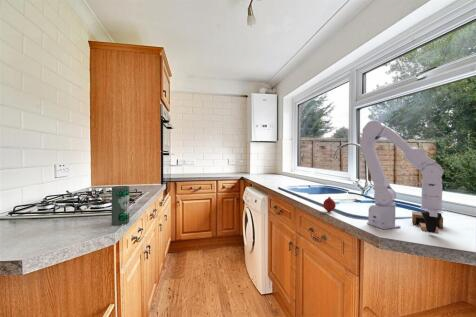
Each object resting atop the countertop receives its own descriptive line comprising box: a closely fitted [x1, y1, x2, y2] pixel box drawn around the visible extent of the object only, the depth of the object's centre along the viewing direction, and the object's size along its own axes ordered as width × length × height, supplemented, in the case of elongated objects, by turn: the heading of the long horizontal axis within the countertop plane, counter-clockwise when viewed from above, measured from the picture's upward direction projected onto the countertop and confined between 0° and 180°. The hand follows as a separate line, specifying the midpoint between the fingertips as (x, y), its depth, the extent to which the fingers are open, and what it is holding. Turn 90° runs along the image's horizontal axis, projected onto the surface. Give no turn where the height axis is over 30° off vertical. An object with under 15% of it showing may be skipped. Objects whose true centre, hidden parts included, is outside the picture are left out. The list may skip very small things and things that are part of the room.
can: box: [111, 185, 130, 226], centre depth 90 cm, size 6×6×15 cm
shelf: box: [411, 211, 444, 230], centre depth 93 cm, size 6×10×4 cm, turn 54°
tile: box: [419, 223, 439, 234], centre depth 87 cm, size 6×5×2 cm
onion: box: [322, 196, 337, 213], centre depth 112 cm, size 6×6×8 cm
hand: (430, 232), depth 81 cm, fingers closed
